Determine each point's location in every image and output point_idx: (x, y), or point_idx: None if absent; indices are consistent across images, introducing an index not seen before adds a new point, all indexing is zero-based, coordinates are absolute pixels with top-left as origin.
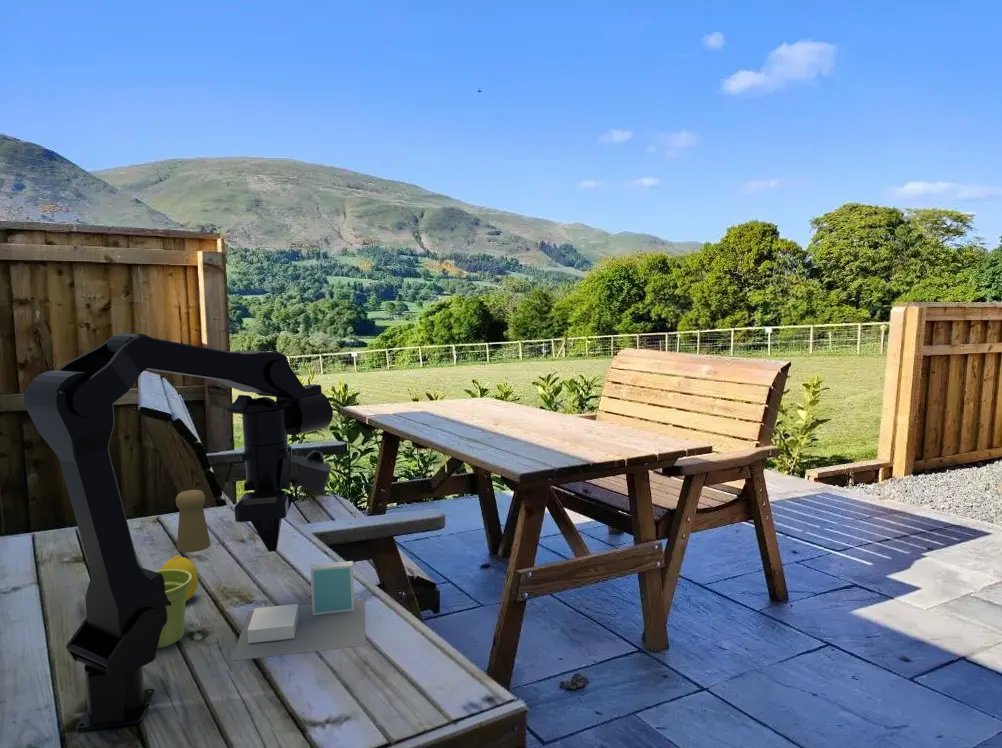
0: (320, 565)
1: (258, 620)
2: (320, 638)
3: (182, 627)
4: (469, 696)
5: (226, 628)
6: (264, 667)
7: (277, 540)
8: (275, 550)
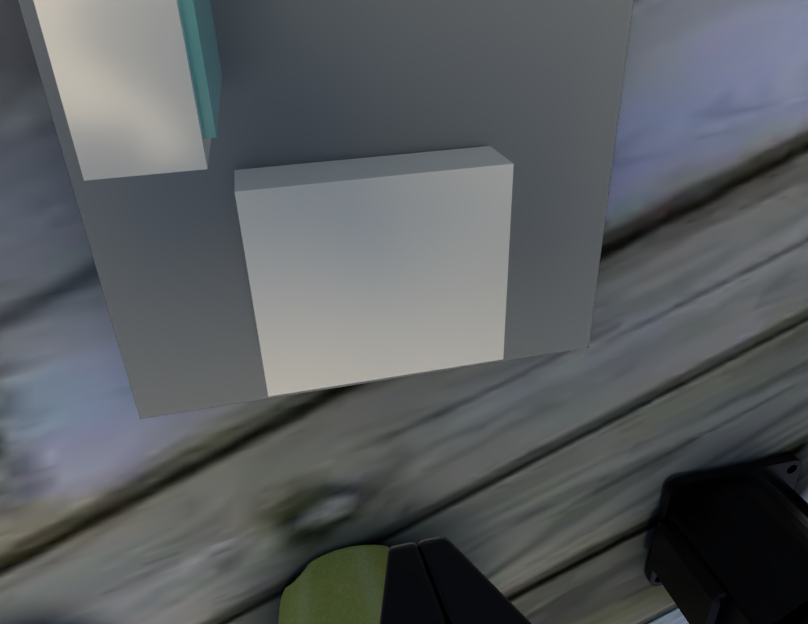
0: (106, 83)
1: (413, 342)
2: (514, 7)
3: (370, 578)
4: None
5: (275, 446)
6: (635, 222)
7: (520, 612)
8: (448, 540)
